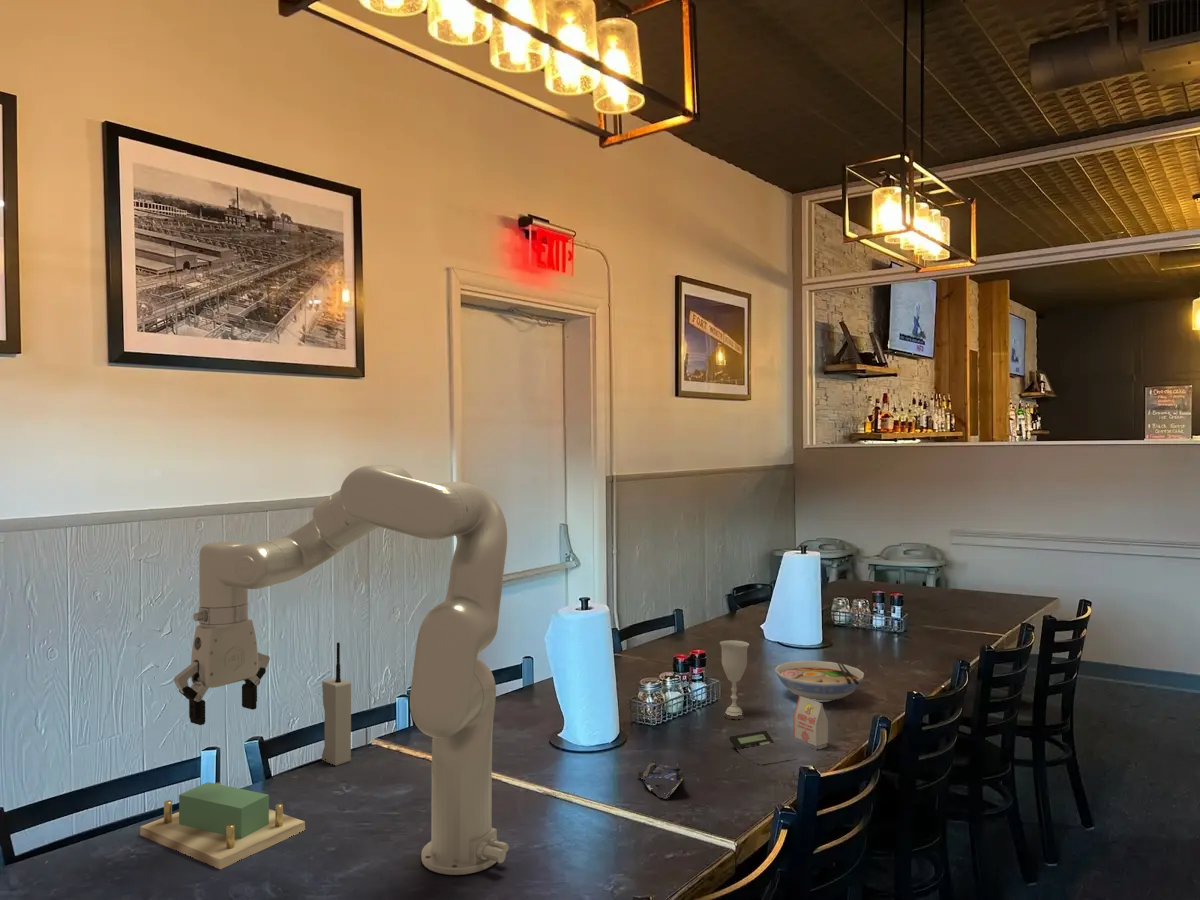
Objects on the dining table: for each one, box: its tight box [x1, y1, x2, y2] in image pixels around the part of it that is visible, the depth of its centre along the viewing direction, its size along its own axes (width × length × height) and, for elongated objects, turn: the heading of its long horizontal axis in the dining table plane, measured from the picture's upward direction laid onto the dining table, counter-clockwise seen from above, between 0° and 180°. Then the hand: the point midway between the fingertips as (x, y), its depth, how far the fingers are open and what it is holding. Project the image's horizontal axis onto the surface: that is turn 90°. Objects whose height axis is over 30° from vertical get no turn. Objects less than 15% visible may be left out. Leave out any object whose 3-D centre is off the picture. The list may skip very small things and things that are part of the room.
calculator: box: [729, 730, 775, 750], centre depth 183 cm, size 9×12×3 cm
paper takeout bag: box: [793, 696, 829, 746], centre depth 189 cm, size 4×7×10 cm, turn 32°
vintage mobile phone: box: [321, 642, 352, 767], centre depth 178 cm, size 4×5×25 cm
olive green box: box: [178, 781, 270, 839], centre depth 144 cm, size 14×6×5 cm, turn 67°
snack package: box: [637, 760, 686, 799], centre depth 165 cm, size 12×6×12 cm
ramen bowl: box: [774, 659, 865, 701], centre depth 223 cm, size 25×23×8 cm
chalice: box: [719, 639, 750, 716], centre depth 208 cm, size 7×7×18 cm
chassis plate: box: [139, 782, 306, 870], centre depth 144 cm, size 22×16×5 cm
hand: (224, 715), depth 144 cm, fingers open, 9 cm apart
